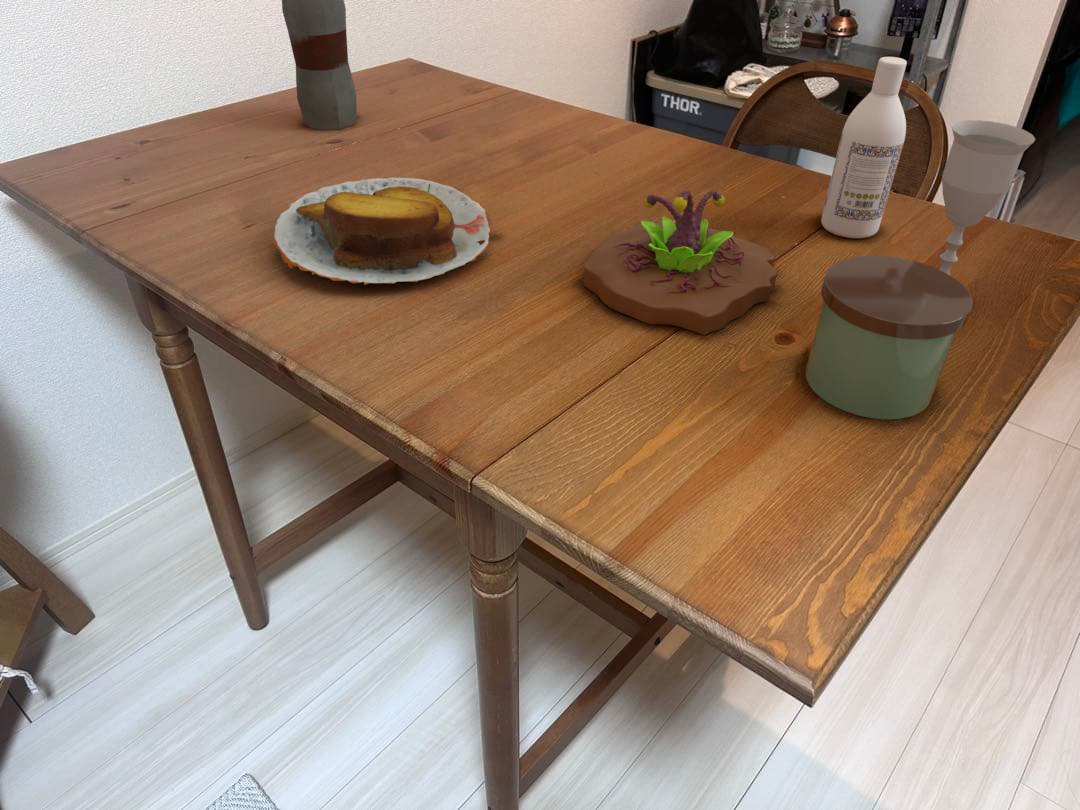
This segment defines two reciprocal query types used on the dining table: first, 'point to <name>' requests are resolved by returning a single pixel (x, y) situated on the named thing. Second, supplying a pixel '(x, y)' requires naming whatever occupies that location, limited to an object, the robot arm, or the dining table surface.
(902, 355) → the canister
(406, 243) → the food on plate
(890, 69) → the bath foam
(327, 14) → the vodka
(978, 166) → the chalice
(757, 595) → the dining table surface
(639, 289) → the plant
